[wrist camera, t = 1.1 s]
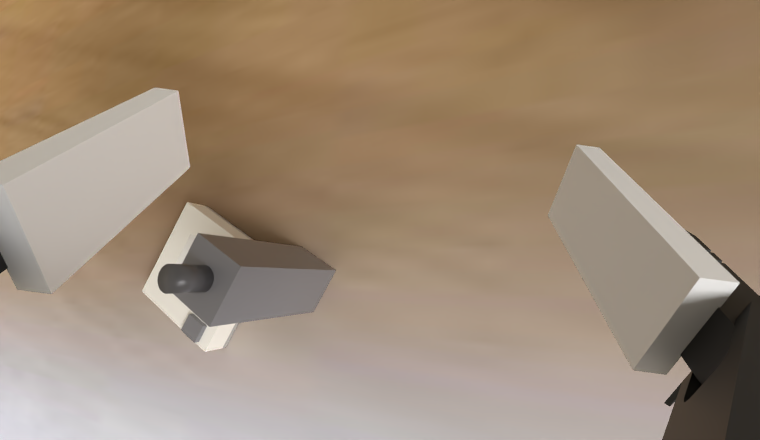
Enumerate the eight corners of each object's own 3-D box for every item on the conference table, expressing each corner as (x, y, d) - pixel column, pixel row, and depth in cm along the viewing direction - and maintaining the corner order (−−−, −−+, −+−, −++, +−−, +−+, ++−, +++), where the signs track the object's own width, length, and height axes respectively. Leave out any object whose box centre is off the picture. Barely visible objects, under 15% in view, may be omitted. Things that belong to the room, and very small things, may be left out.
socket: (207, 206, 49) (182, 201, 46) (274, 255, 44) (252, 253, 41) (164, 290, 50) (137, 291, 47) (225, 347, 45) (200, 352, 42)
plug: (301, 246, 43) (163, 228, 28) (335, 270, 41) (208, 265, 26) (279, 286, 43) (131, 290, 28) (313, 312, 41) (173, 332, 26)
